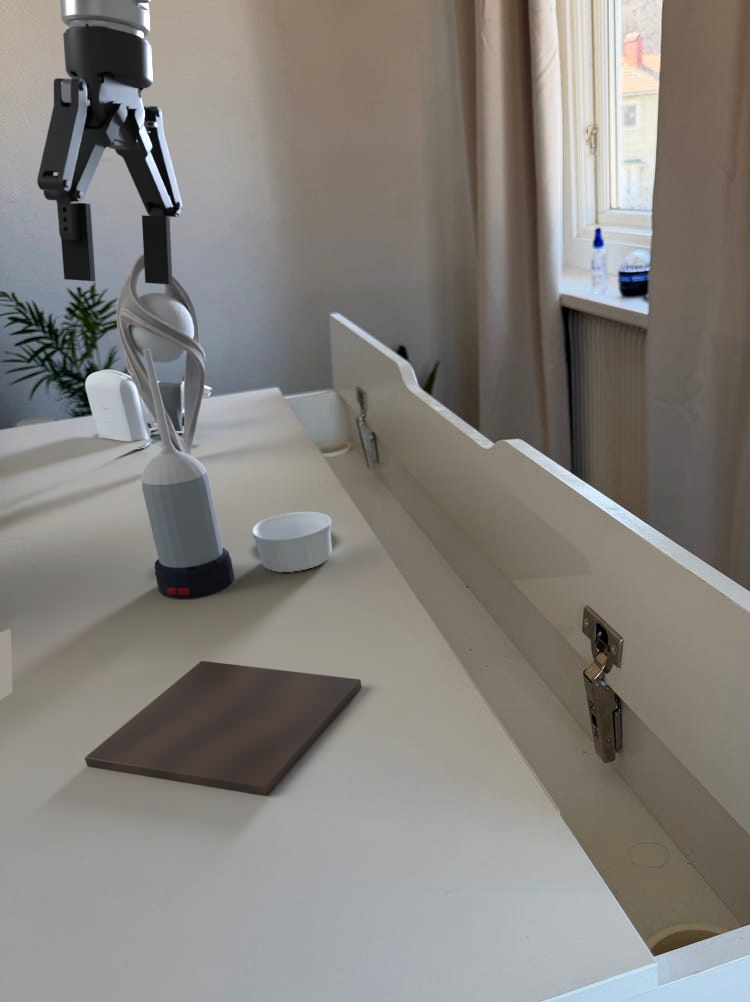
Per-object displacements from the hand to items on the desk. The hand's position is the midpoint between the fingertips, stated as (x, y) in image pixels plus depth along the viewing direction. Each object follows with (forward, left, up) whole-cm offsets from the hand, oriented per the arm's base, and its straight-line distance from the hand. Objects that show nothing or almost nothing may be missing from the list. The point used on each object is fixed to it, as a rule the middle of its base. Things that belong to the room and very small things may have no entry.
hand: (122, 282), depth 96 cm
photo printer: (-43, +46, -31) cm, 70 cm away
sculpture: (-27, +40, -31) cm, 57 cm away
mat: (+23, -27, -31) cm, 47 cm away
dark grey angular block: (-40, +55, -31) cm, 75 cm away
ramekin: (+11, +6, -31) cm, 33 cm away
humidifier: (+3, -2, -31) cm, 31 cm away
